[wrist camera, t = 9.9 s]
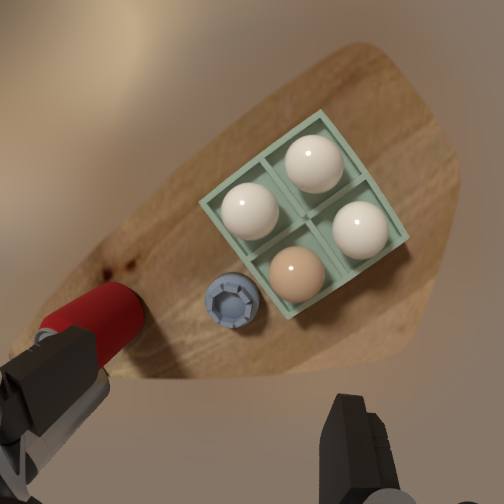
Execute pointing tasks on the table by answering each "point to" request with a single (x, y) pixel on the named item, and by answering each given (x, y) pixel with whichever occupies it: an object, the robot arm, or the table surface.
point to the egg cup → (232, 300)
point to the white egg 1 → (249, 211)
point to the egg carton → (305, 213)
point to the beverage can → (99, 318)
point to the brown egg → (296, 274)
